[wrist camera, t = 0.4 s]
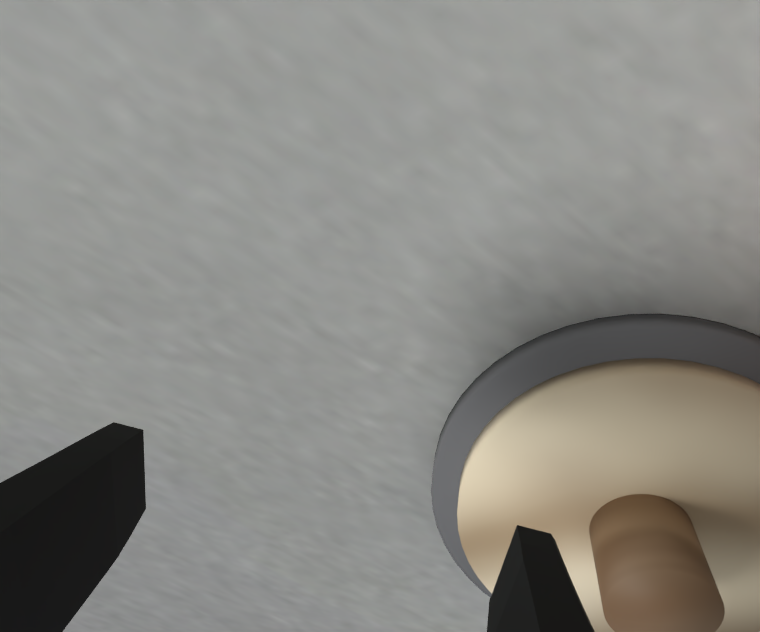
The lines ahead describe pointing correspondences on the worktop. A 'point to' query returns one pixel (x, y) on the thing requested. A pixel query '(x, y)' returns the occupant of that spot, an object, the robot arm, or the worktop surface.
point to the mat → (564, 355)
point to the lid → (629, 492)
